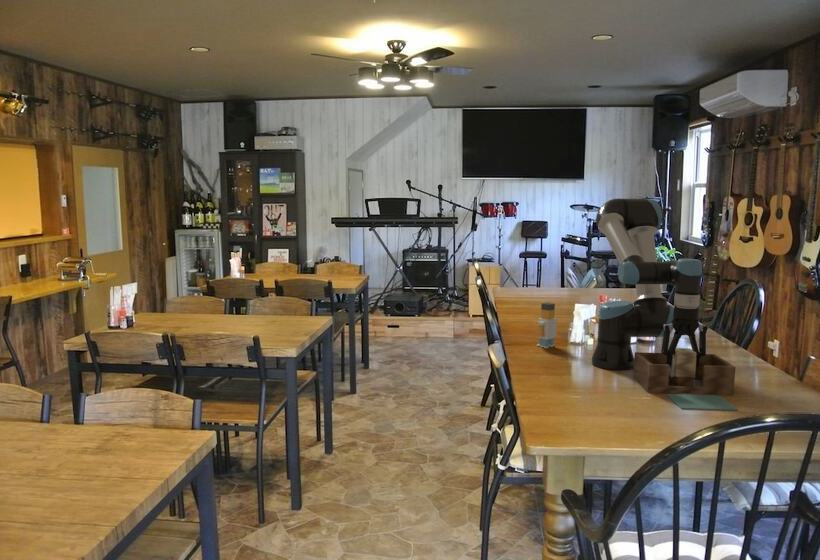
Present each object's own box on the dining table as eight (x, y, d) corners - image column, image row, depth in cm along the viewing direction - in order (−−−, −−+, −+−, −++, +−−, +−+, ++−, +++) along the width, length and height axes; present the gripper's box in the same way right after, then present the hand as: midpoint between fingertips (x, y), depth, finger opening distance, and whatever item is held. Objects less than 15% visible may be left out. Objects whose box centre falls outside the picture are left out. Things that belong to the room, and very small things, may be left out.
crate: (647, 392, 203) (649, 364, 201) (633, 377, 219) (634, 352, 218) (733, 394, 201) (735, 367, 200) (712, 380, 217) (714, 354, 216)
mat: (681, 409, 187) (681, 407, 187) (666, 395, 200) (666, 394, 200) (737, 410, 186) (737, 409, 186) (719, 396, 199) (719, 395, 199)
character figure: (535, 348, 260) (537, 304, 257) (537, 342, 270) (538, 300, 267) (555, 349, 258) (557, 305, 255) (556, 344, 268) (557, 301, 265)
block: (675, 376, 207) (677, 352, 205) (669, 371, 212) (671, 348, 211) (694, 377, 206) (696, 352, 205) (688, 371, 212) (689, 348, 211)
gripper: (660, 308, 203) (655, 378, 206) (721, 309, 202) (716, 380, 205) (652, 304, 211) (648, 372, 214) (712, 305, 209) (707, 373, 212)
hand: (681, 376), depth 209 cm, fingers closed on block, 6 cm apart
